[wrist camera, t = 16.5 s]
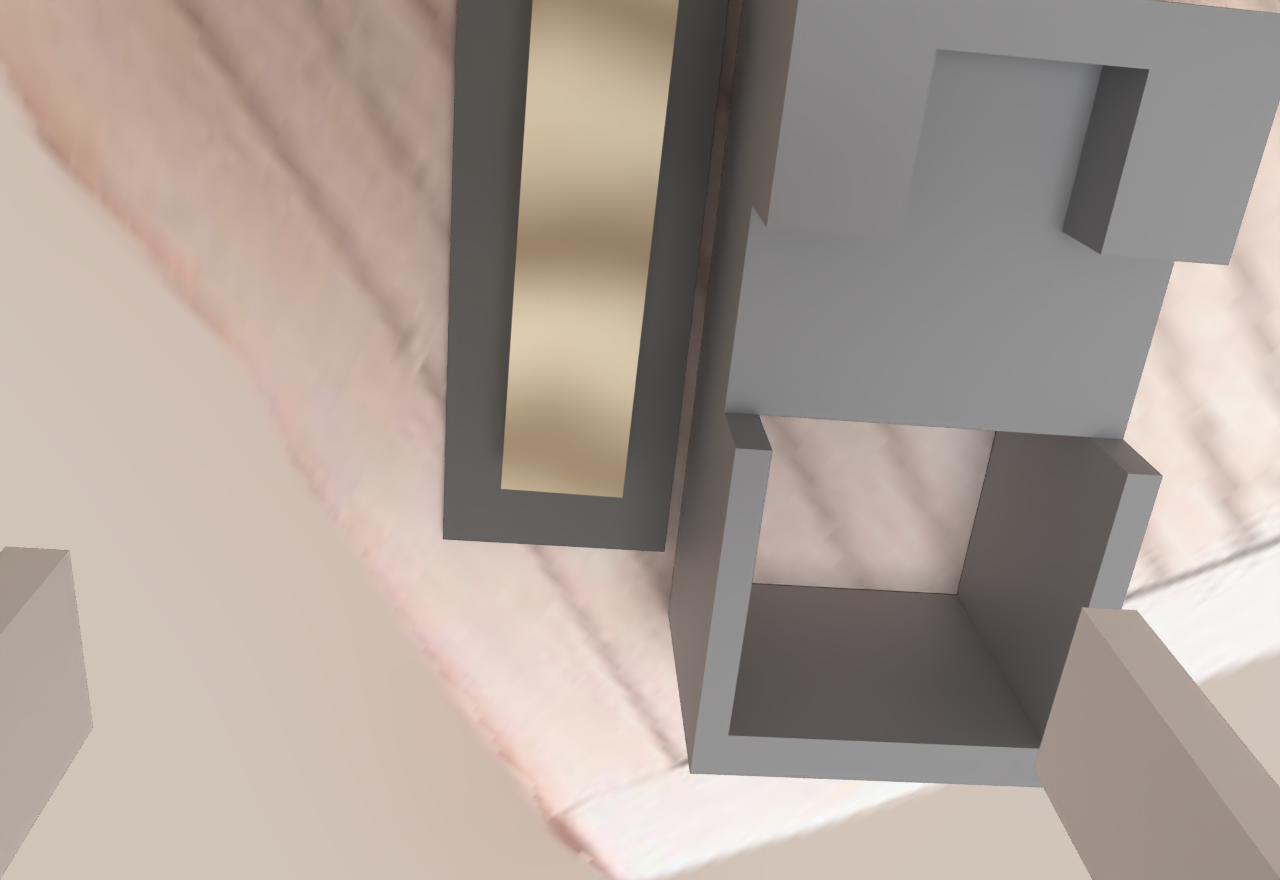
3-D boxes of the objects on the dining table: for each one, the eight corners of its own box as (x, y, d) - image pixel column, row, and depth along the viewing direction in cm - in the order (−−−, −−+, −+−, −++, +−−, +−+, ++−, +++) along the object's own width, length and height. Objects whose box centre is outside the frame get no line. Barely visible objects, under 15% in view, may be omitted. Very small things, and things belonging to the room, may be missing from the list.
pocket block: (747, -42, 34) (803, -35, 25) (1132, -3, 35) (1305, 16, 26) (668, 613, 43) (690, 773, 35) (973, 629, 44) (1065, 788, 36)
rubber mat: (460, -71, 33) (458, -72, 32) (731, -44, 34) (733, -43, 33) (444, 531, 41) (443, 539, 40) (663, 543, 42) (664, 551, 41)
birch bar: (543, -117, 32) (540, -121, 30) (682, -100, 32) (690, -103, 30) (505, 456, 39) (501, 488, 37) (619, 465, 39) (622, 497, 37)
